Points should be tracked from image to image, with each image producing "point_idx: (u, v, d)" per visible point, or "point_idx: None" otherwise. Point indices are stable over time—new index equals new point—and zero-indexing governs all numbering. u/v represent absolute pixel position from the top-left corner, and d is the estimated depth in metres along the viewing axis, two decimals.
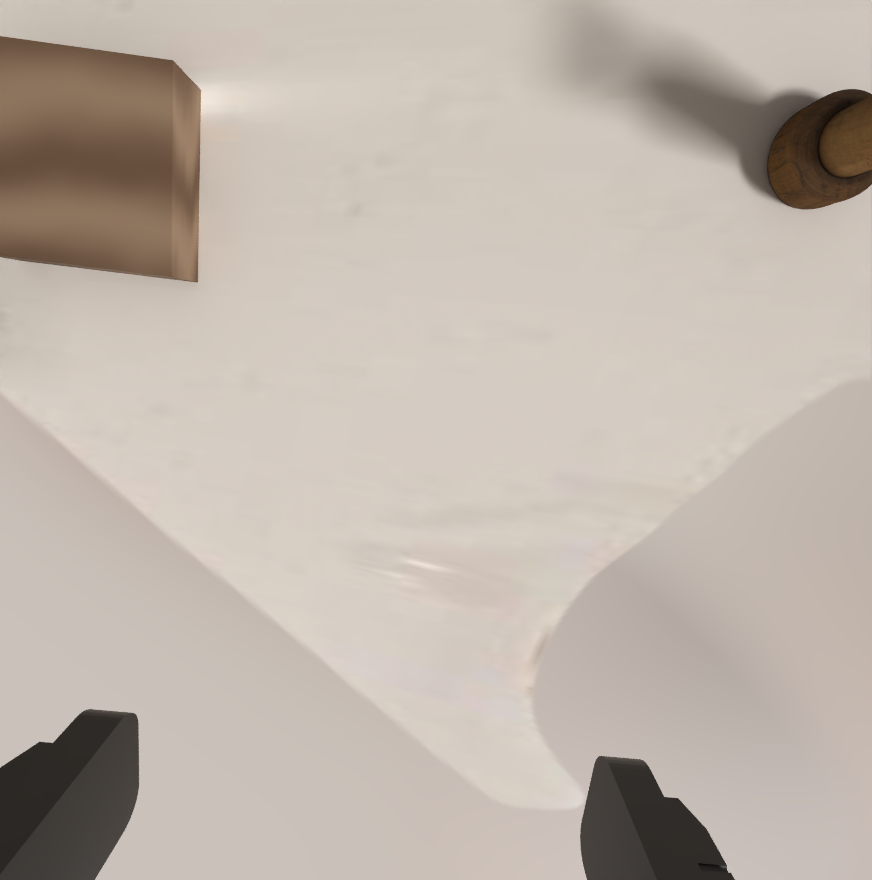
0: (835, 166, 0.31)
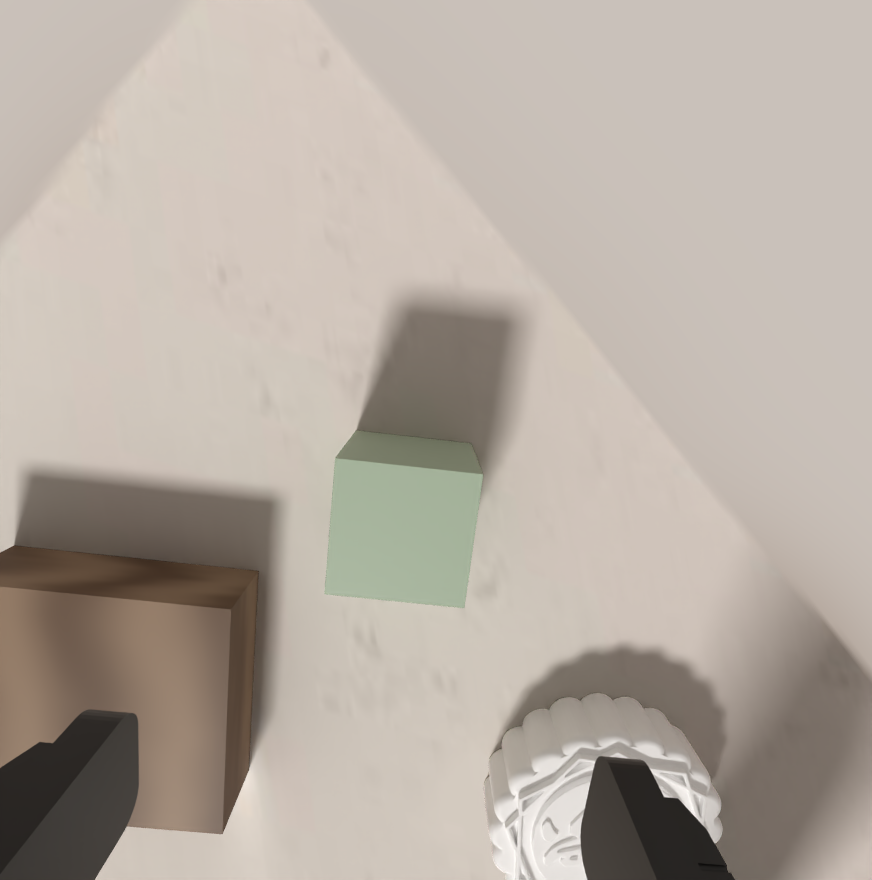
0: None
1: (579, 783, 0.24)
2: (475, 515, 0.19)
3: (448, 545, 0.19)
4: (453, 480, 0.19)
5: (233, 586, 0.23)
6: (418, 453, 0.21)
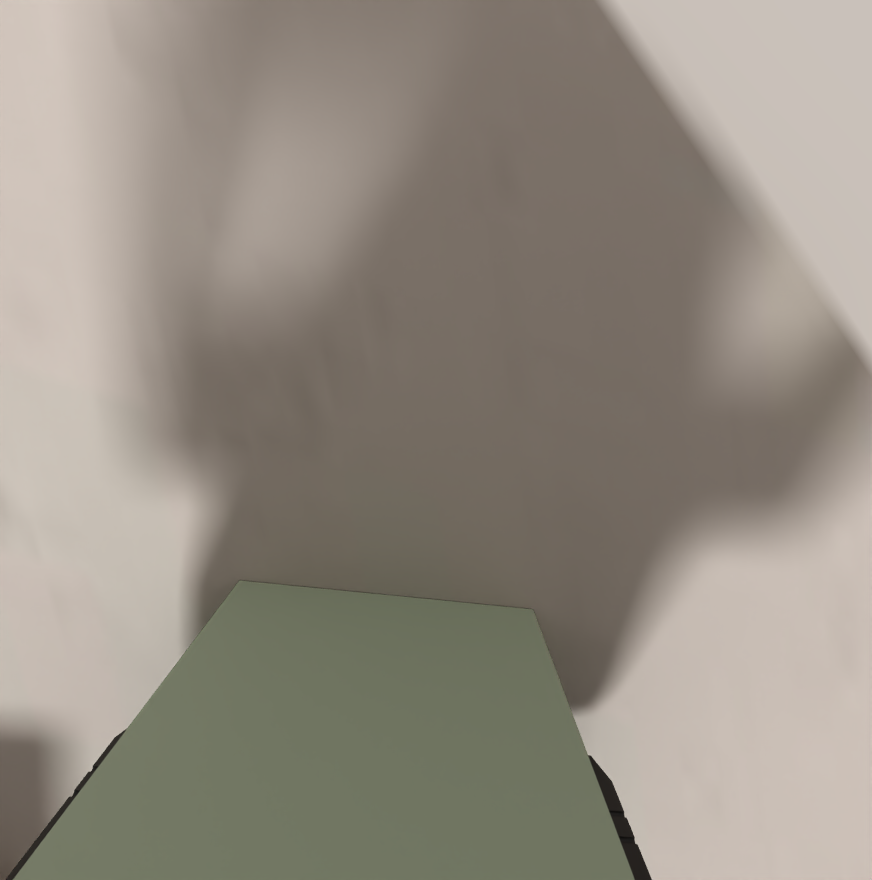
0: None
1: None
2: None
3: None
4: None
5: None
6: (390, 740, 0.06)
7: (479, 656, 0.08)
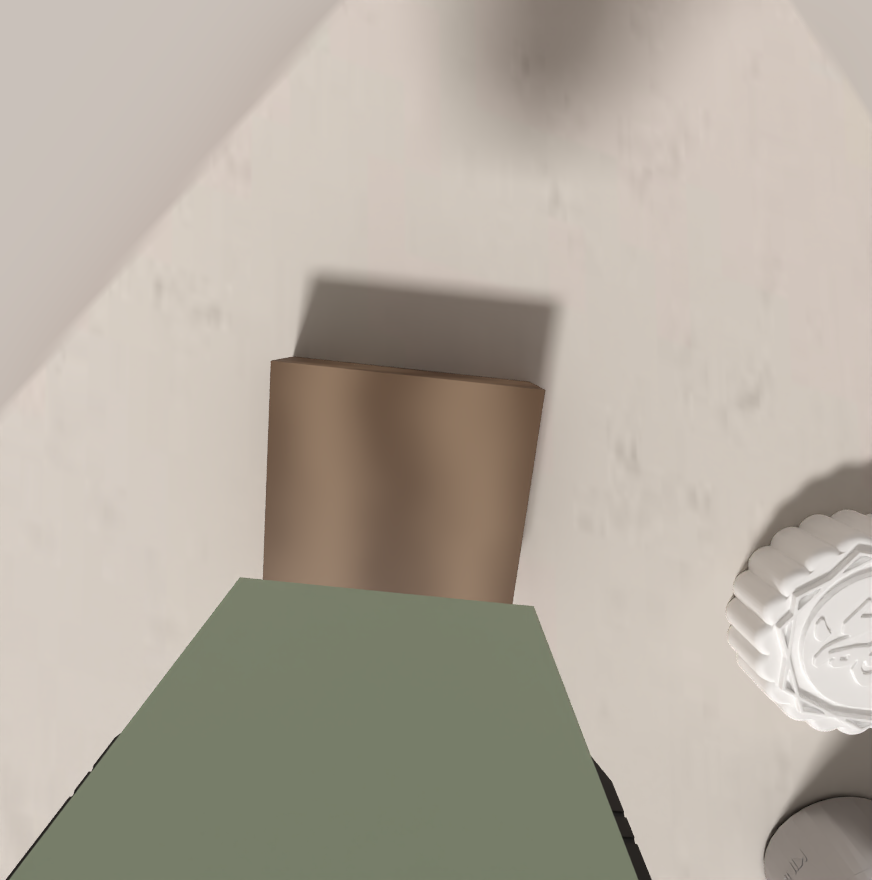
0: None
1: (855, 580, 0.25)
2: None
3: None
4: None
5: (523, 383, 0.24)
6: (392, 735, 0.06)
7: (480, 652, 0.08)
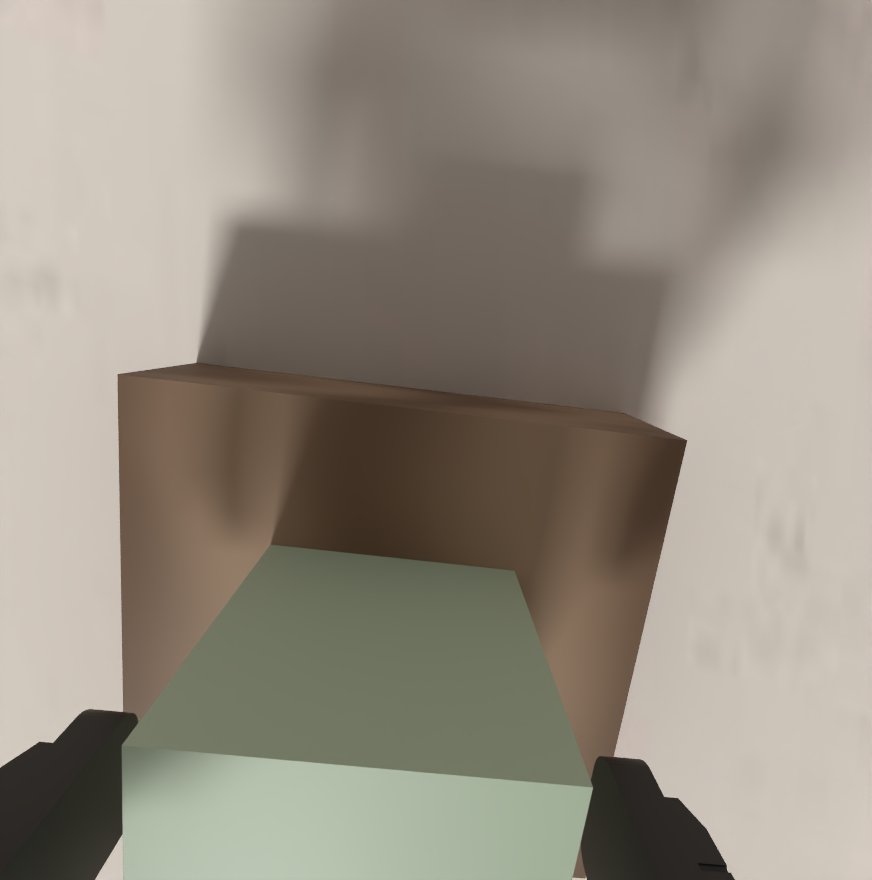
0: None
1: None
2: None
3: None
4: (499, 804, 0.06)
5: (625, 421, 0.13)
6: (398, 653, 0.08)
7: (468, 602, 0.10)
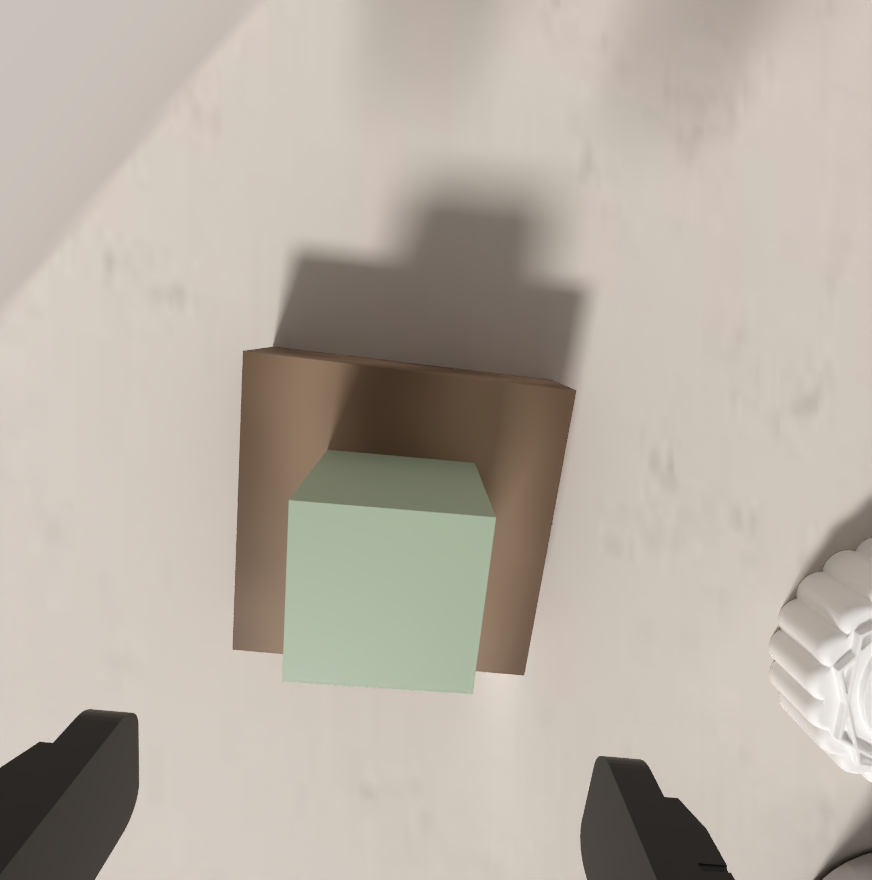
0: None
1: None
2: (485, 572, 0.14)
3: (449, 613, 0.14)
4: (454, 526, 0.13)
5: (547, 382, 0.20)
6: (407, 484, 0.15)
7: (445, 471, 0.17)
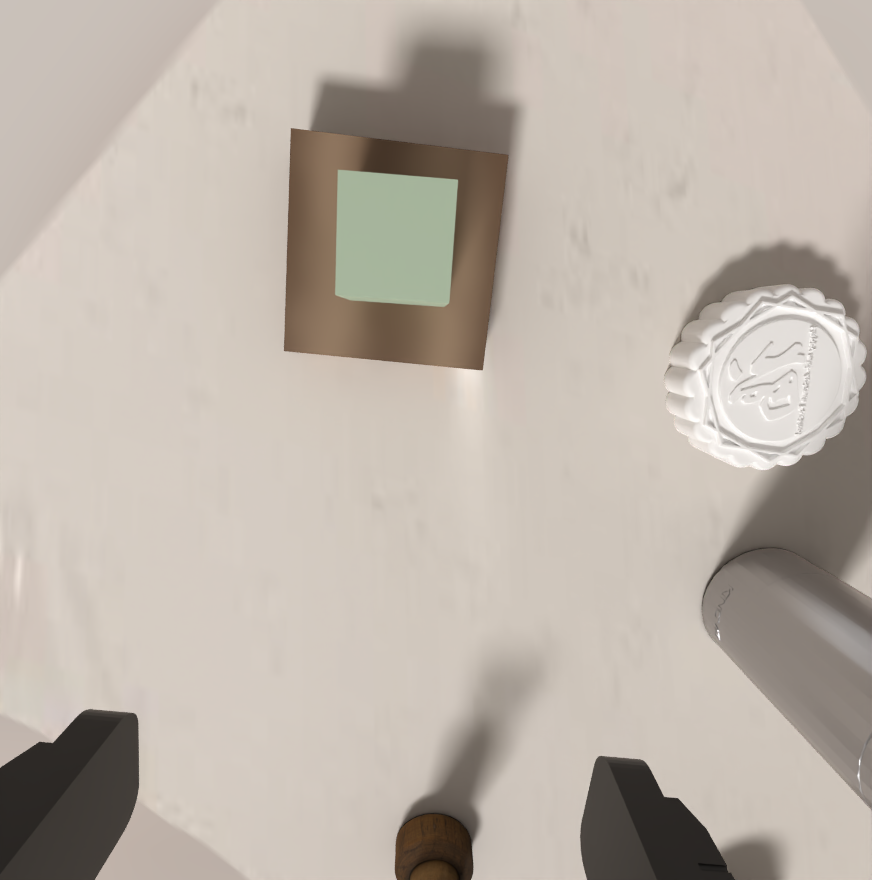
0: (414, 877, 0.39)
1: (760, 326, 0.31)
2: (453, 217, 0.23)
3: (433, 246, 0.24)
4: (434, 186, 0.23)
5: None
6: None
7: None
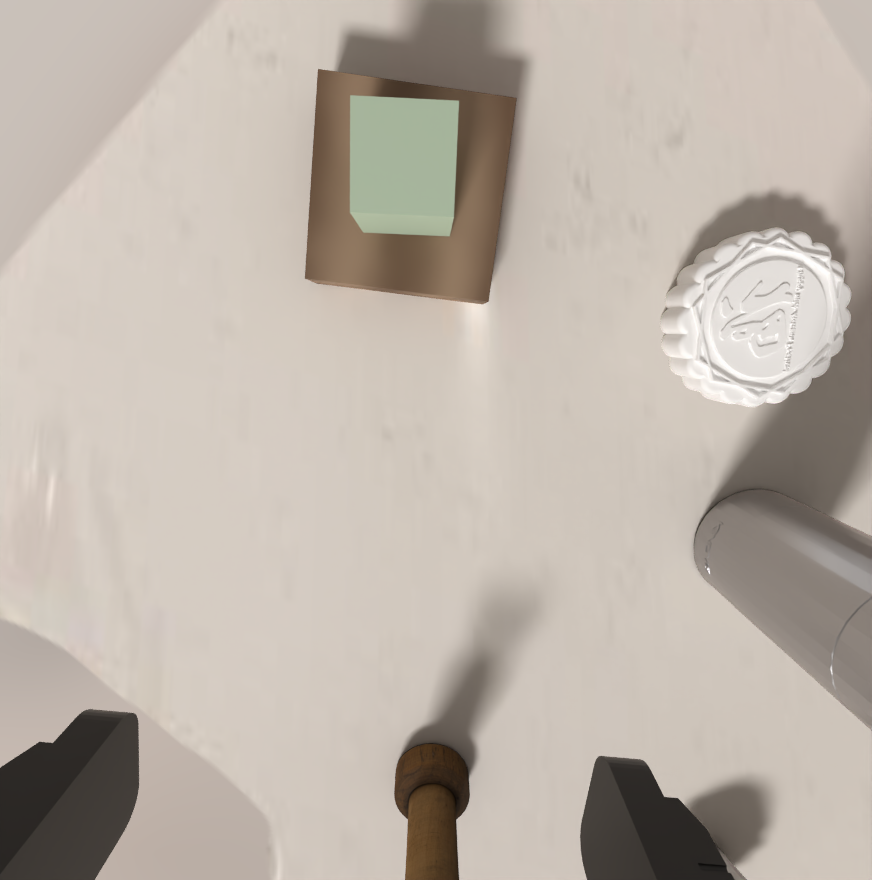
0: (413, 798, 0.41)
1: (750, 266, 0.33)
2: (456, 136, 0.26)
3: (437, 163, 0.26)
4: (437, 107, 0.25)
5: None
6: None
7: None
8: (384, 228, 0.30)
